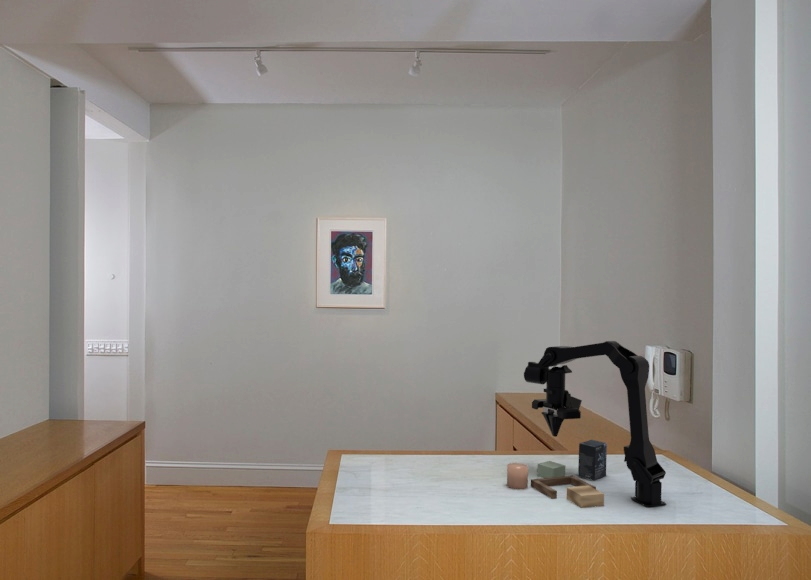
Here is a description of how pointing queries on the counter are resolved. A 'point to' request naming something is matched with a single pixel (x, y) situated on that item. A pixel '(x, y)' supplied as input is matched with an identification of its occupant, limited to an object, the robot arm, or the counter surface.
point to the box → (592, 459)
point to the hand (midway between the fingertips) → (554, 436)
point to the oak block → (585, 496)
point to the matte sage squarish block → (550, 469)
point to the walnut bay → (544, 484)
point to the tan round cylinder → (517, 476)
